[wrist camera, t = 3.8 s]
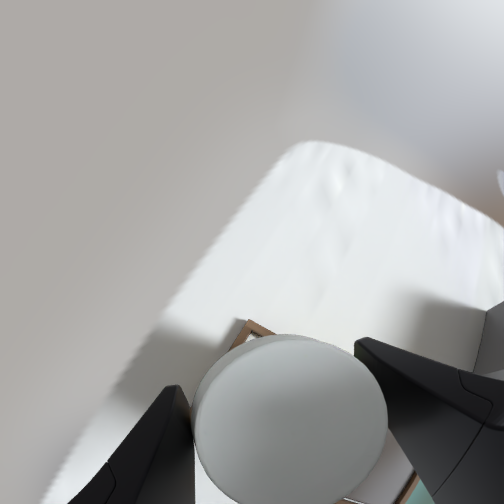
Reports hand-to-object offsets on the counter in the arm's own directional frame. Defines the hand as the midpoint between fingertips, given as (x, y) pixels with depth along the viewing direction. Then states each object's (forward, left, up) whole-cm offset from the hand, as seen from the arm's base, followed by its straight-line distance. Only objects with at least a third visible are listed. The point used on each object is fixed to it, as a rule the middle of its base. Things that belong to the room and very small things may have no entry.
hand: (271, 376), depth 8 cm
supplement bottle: (-1, -1, -7) cm, 7 cm away
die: (+2, -17, -7) cm, 18 cm away
